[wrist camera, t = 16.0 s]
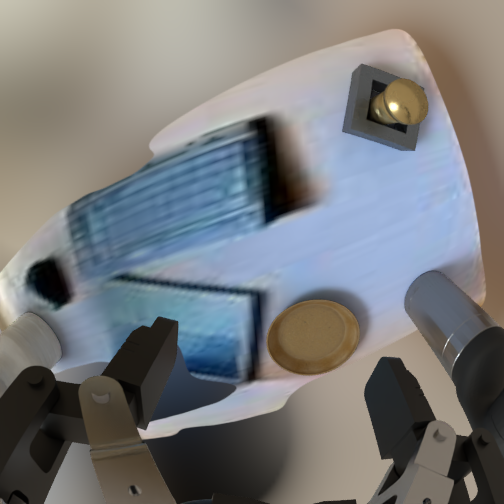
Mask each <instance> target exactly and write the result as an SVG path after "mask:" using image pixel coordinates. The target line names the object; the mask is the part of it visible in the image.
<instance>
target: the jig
mask: <svg viewBox="0 0 504 504" xmlns="http://www.w3.org/2000/svg"><path fill="white" fill-rule="evenodd" d="M397 79H402V78H400V77H397V76H395V75H392V74H390V73H387V72H384V71H382V70H379V69H376V68H373V67H370V66H367V65H364V64H361V65H360V66H359V67H358V68H357V69H356V70H355V71H354V72H353V73H352V78H351V85H350V91H349V97H348V102H347V108H346V113H345V119H344V124H343V129H342V132H345V133H348V134H352V135H355V136H358V137H362V138H365V139H368V140H371V141H374V142H377V143H380V144H383V145H386V146H389V147H392V148H395V149H398V150H401V151H415V148H416V143H417V137H418V131H419V125H420V123H417V124H412V125H404V124H401V123H399V122H398V123H395V125H394V129H392V128H389V127H386V126H383V125H380V124H377V123H374V122H371V121H368V120H366V118H367V112H368V107H369V100H370V94H371V90H373V91H376V92H379V93H382V92H384V91H385V88H386V87H387V85H388V84H390V83H391V82H393V81H395V80H397ZM420 87H421V86H420ZM421 89H422V90H423V91H424V88H423V87H421Z"/></svg>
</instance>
